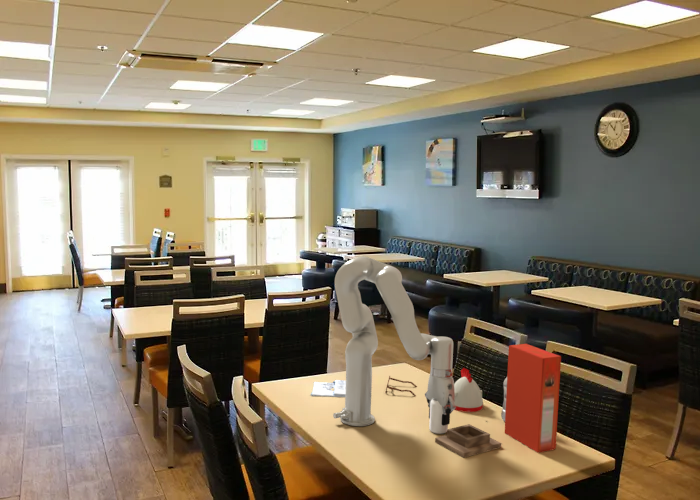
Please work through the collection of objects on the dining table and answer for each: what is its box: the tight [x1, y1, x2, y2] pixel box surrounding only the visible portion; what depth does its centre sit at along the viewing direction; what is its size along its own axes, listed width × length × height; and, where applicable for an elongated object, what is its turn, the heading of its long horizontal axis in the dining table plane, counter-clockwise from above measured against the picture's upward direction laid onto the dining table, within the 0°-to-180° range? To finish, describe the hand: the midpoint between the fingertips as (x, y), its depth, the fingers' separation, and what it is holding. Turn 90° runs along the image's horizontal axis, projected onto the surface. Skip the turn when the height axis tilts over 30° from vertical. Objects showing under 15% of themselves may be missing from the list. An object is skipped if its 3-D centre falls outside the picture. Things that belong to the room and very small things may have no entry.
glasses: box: [385, 375, 418, 397], centre depth 262 cm, size 13×13×5 cm
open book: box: [310, 379, 346, 398], centre depth 261 cm, size 19×20×2 cm
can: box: [428, 398, 449, 435], centre depth 218 cm, size 6×6×12 cm
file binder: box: [504, 343, 562, 453], centre depth 211 cm, size 8×17×32 cm, turn 23°
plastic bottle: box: [501, 376, 507, 422], centre depth 229 cm, size 6×7×20 cm
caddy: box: [434, 424, 502, 458], centre depth 207 cm, size 17×14×4 cm
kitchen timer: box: [453, 367, 484, 413], centre depth 245 cm, size 14×14×15 cm
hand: (439, 420), depth 218 cm, fingers closed on can, 6 cm apart
